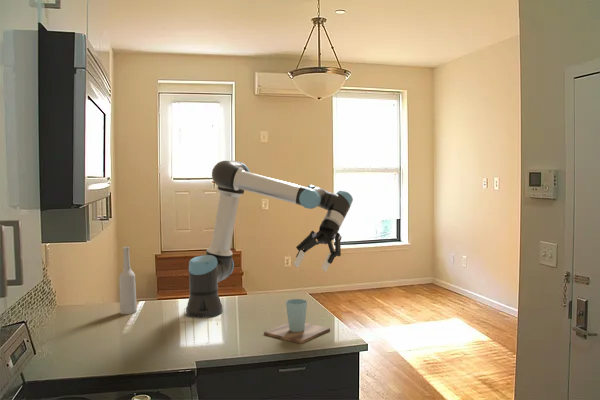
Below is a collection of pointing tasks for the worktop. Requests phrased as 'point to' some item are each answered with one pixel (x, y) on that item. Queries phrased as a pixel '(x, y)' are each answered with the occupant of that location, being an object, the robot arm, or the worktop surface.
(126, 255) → the bottle
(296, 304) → the cup
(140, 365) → the worktop surface
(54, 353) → the worktop surface
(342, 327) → the worktop surface
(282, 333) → the board
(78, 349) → the worktop surface
